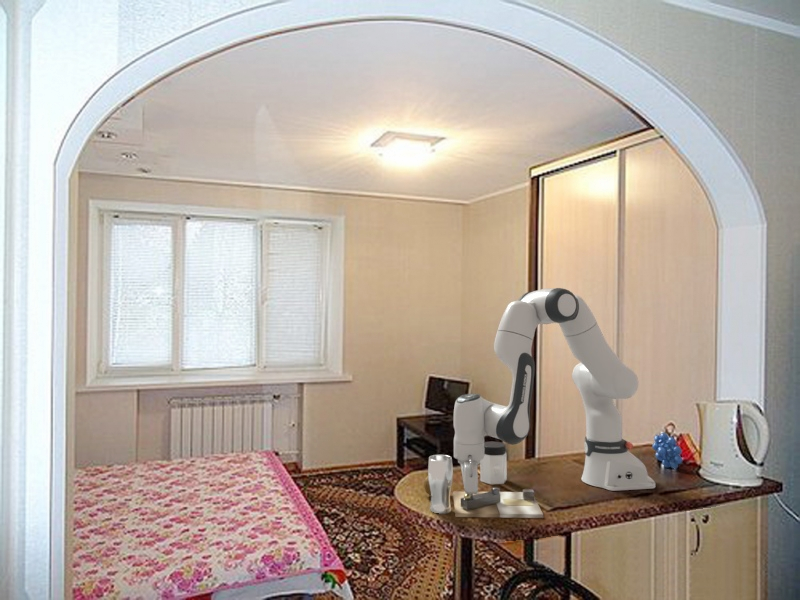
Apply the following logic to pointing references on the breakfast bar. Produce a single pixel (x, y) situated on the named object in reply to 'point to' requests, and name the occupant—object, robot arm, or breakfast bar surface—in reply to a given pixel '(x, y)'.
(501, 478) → the jar
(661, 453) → the grapes
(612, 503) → the breakfast bar surface
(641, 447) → the breakfast bar surface
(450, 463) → the beer glass
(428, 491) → the onion
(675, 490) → the breakfast bar surface
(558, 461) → the breakfast bar surface
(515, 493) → the door board
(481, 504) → the bar
